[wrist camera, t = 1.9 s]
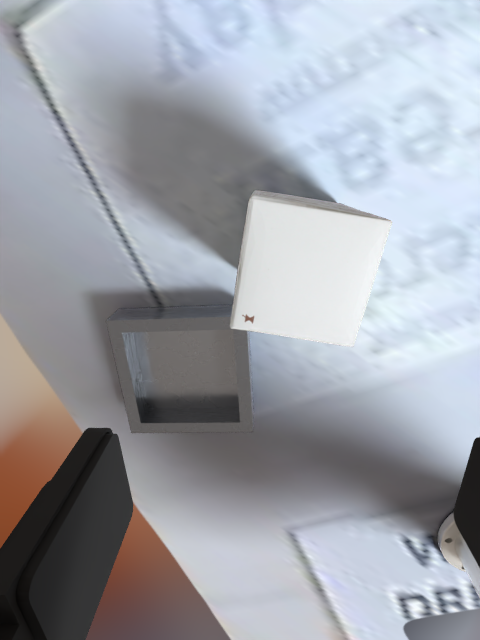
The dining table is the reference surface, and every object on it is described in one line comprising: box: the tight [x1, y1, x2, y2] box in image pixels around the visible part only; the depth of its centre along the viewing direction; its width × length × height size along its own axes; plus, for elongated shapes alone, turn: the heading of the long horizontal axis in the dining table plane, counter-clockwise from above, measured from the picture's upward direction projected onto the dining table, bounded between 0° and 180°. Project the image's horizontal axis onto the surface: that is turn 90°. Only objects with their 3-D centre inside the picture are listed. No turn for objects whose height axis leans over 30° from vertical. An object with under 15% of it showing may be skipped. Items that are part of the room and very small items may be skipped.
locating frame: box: [106, 305, 254, 433], centre depth 34 cm, size 12×12×3 cm
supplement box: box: [230, 190, 392, 347], centre depth 24 cm, size 7×7×13 cm
